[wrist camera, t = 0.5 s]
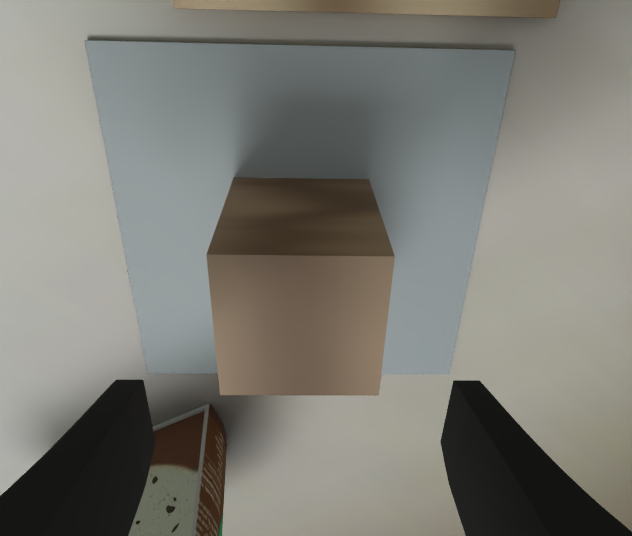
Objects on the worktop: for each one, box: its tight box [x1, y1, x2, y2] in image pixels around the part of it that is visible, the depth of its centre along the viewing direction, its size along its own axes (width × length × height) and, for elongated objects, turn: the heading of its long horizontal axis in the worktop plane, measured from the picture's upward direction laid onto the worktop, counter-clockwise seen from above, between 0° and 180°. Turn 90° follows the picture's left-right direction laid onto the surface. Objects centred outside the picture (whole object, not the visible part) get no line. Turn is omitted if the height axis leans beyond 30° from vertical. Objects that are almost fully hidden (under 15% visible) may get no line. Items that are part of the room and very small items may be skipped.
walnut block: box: [206, 177, 395, 395], centre depth 17 cm, size 5×5×6 cm
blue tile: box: [85, 40, 515, 374], centre depth 20 cm, size 14×14×1 cm
